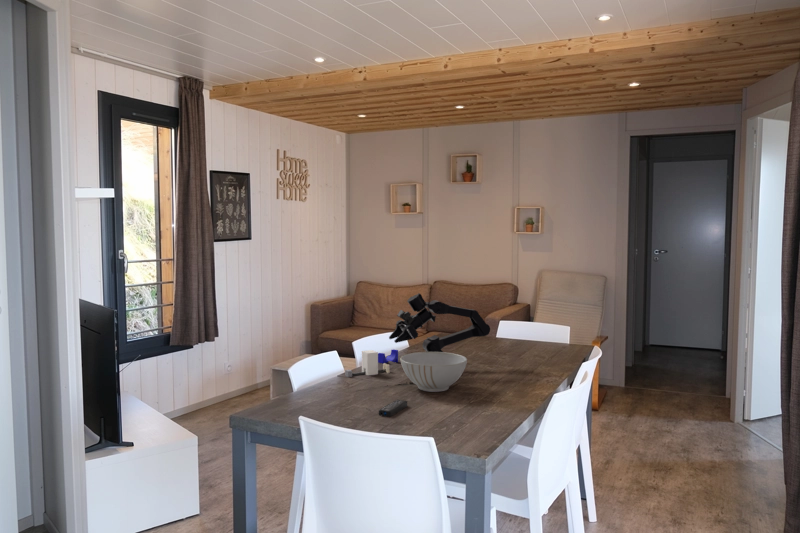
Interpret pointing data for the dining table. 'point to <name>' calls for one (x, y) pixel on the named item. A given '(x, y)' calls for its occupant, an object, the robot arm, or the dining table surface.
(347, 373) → the cord board
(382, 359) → the cable clip
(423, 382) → the decorative bowl
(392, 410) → the multiport hub
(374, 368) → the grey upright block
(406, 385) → the dining table surface
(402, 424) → the dining table surface
